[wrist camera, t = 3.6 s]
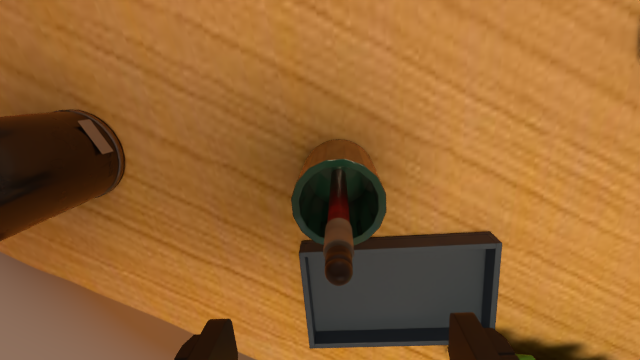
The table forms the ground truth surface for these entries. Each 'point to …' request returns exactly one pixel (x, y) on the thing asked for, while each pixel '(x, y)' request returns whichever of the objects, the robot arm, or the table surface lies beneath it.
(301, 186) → the cup
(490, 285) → the tray
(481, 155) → the table surface
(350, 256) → the brush
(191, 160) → the table surface
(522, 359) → the decorative tree
